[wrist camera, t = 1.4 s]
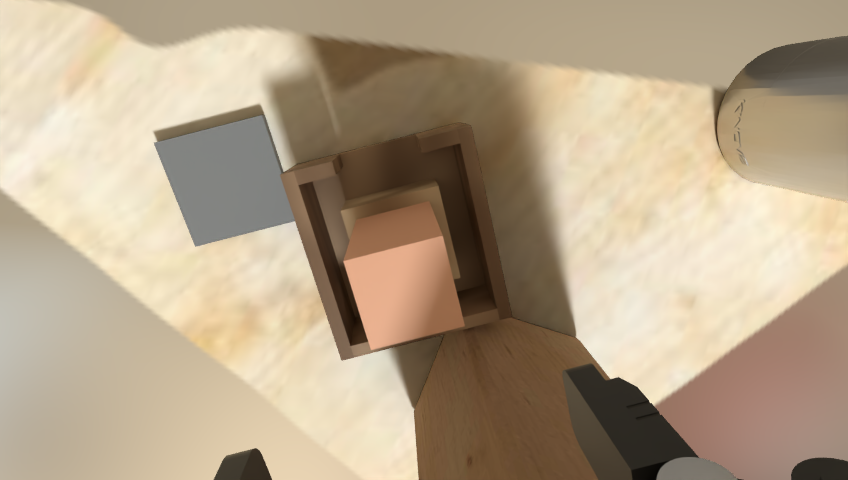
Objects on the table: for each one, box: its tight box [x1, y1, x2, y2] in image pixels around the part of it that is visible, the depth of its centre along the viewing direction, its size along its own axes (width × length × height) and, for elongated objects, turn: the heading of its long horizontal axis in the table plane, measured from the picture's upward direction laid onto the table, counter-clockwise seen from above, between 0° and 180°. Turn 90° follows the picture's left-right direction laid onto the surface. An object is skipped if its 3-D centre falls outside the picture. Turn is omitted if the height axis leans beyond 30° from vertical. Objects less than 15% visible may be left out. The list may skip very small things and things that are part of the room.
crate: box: [280, 123, 512, 360], centre depth 31 cm, size 11×12×5 cm
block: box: [343, 201, 465, 350], centre depth 26 cm, size 4×4×8 cm
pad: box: [154, 115, 295, 247], centre depth 31 cm, size 7×7×1 cm
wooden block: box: [414, 317, 610, 480], centre depth 27 cm, size 10×10×20 cm
